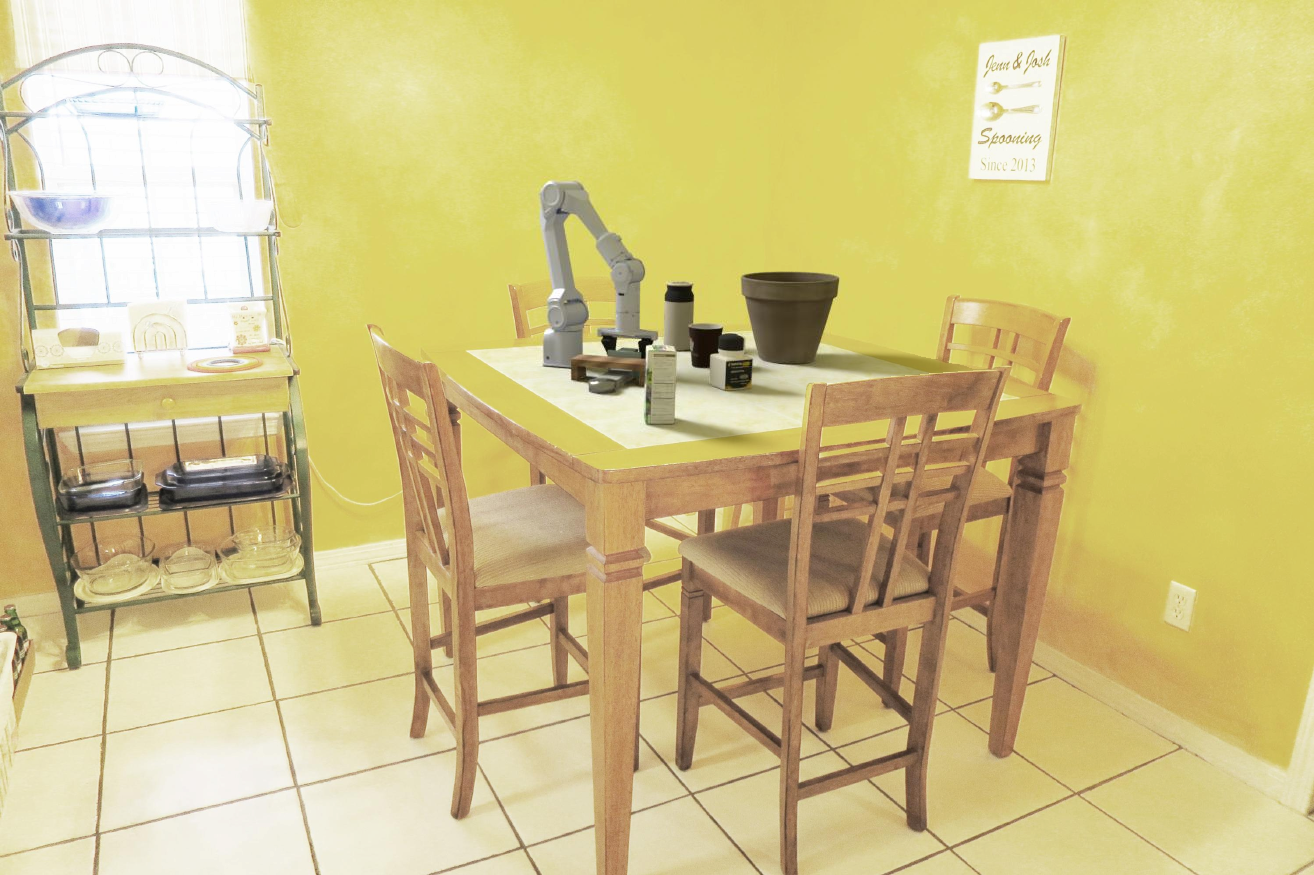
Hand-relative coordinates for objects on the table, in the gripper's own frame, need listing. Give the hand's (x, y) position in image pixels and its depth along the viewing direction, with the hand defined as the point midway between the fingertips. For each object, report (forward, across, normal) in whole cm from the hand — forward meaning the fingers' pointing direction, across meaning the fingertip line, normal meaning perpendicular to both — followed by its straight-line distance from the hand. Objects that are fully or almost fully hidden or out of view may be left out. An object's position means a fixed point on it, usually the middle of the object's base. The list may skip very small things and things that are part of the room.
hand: (627, 368), depth 218 cm
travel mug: (+2, -3, -36) cm, 36 cm away
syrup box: (+2, -19, +38) cm, 43 cm away
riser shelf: (+1, +1, +8) cm, 8 cm away
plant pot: (+2, -33, -33) cm, 47 cm away
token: (+2, 0, +18) cm, 18 cm away
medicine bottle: (+2, -26, +4) cm, 26 cm away
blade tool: (+1, 0, +7) cm, 7 cm away
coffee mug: (+2, -15, -18) cm, 23 cm away
